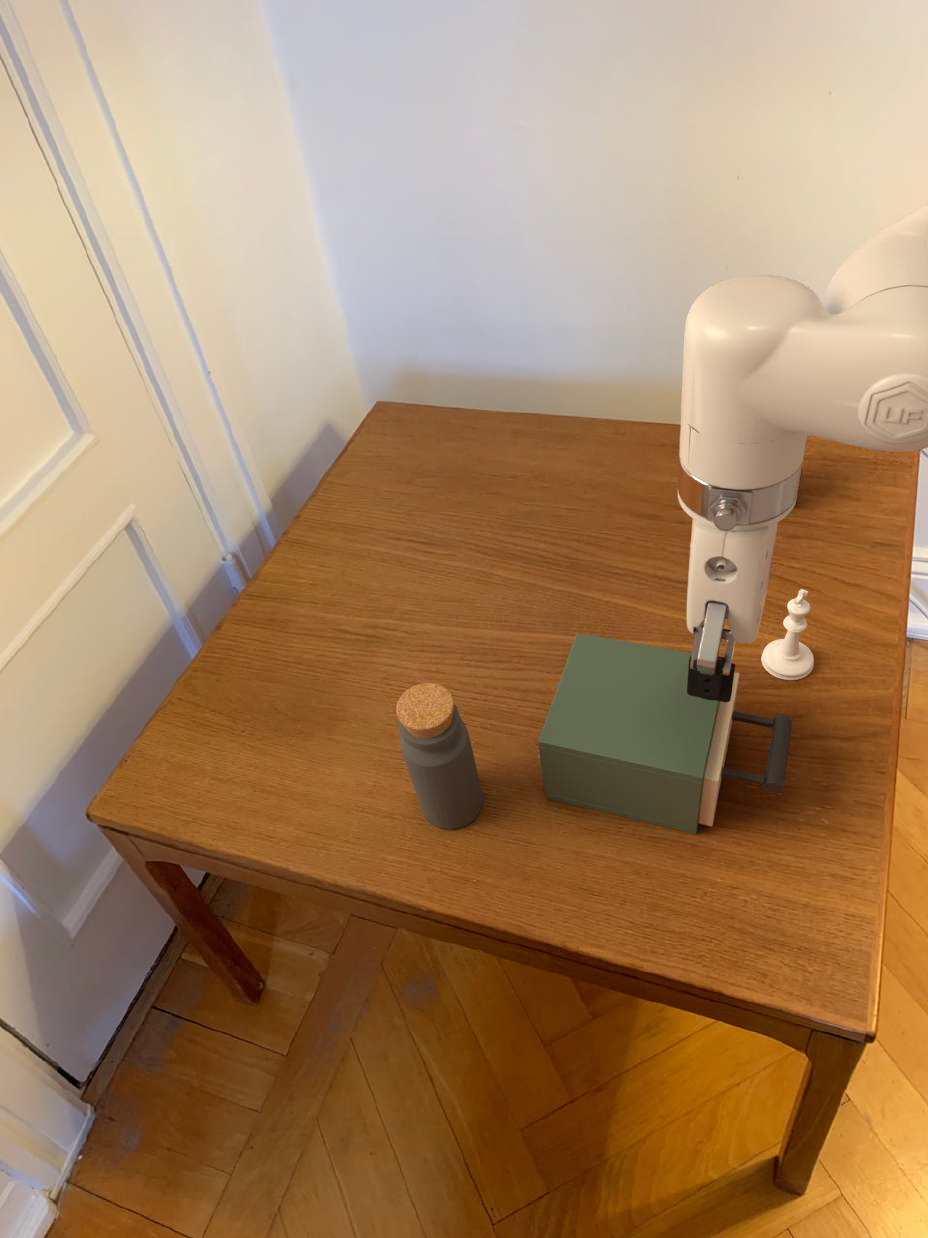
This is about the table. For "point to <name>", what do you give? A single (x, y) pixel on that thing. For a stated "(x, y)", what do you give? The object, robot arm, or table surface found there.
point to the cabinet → (627, 734)
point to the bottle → (439, 756)
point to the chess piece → (790, 645)
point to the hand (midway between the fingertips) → (719, 648)
